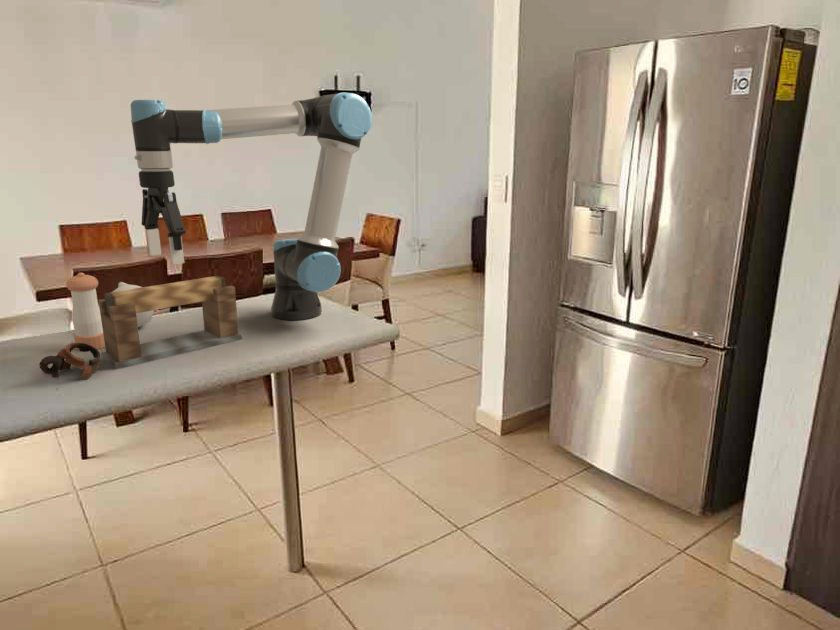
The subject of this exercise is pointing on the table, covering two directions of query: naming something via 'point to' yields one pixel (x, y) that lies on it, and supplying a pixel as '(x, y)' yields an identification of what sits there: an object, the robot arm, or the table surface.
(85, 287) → the pepper shaker
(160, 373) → the table surface
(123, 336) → the wooden u-shaped stand
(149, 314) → the cat head
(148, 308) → the bed rail
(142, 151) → the robot arm
